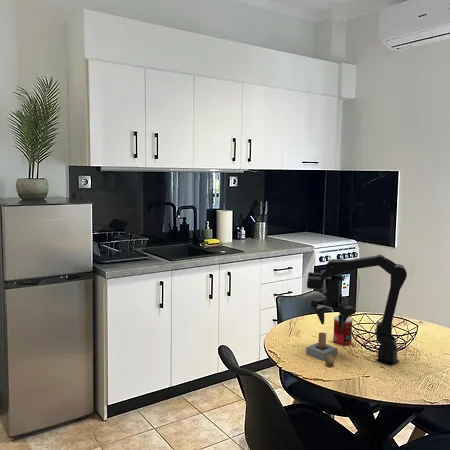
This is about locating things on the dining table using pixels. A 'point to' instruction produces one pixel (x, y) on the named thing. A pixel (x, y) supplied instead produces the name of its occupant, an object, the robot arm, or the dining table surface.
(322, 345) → the long pin
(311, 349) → the socket block
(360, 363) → the dining table surface
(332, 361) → the short pin
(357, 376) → the dining table surface
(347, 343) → the canned food
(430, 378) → the dining table surface
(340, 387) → the dining table surface
